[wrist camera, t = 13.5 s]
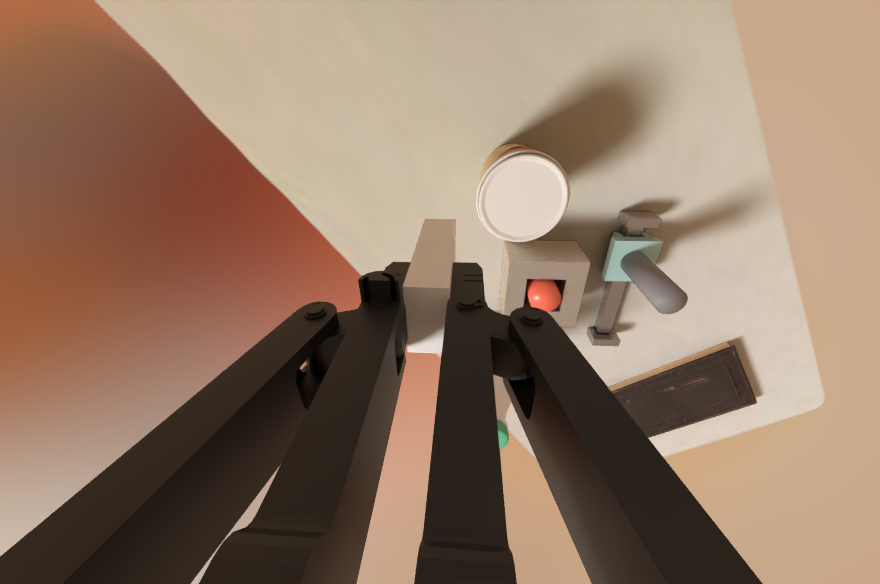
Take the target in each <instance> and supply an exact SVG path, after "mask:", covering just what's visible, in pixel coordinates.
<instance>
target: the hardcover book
mask: <svg viewBox="0 0 880 584" xmlns="http://www.w3.org/2000/svg"><path fill="white" fill-rule="evenodd" d="M608 388H609V389H610V391H611V392H612V393H613V394H614V396H615V397H616V398H617V399H618V401H619V402H620V403H621V405H622V406H623V407H624V408H625V410H626V411H627V412H628V413H629V415H630V416H631V417H632V419H633V420H634V421H635V422H636V424H637V425H638V426H639V427H640V429H641V430H642V431H643V432H644V434H645V435H646V436H647V438H649V437H653V436H656V435H659V434H662V433H665V432H668V431H671V430H675V429H678V428H681V427H684V426H687V425H690V424H693V423H697V422H700V421H703V420H706V419H709V418H712V417H715V416H719V415H722V414H725V413H728V412H731V411H734V410H738V409H741V408H744V407H747V406H750V405H753V404H756V403H757V401H756V398H755V396H754V393H753V391H752V388H751V386H750V383H749V381H748V378H747V376H746V373H745V371H744V368H743V366H742V363H741V361H740V358H739V356H738V353H737V351H736V348H735V346H734V345H732V346H730V345H729V344H728V343H727V342H724V343H721V344H719V345H716V346H714V347H711V348H708V349H706V350H703V351H701V352H698V353H695V354H693V355H690V356H688V357H685V358H682V359H680V360H677V361H675V362H672V363H669V364H667V365H664V366H662V367H659V368H657V369H654V370H651V371H649V372H646V373H644V374H641V375H638V376H636V377H633V378H631V379H628V380H625V381H623V382H620V383H618V384H615V385H612V386H610V387H608Z"/></svg>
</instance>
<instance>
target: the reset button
mask: <svg viewBox="0 0 880 584" xmlns="http://www.w3.org/2000/svg"><path fill="white" fill-rule="evenodd" d="M526 291H527V295H528V298H529V302H530V305H531V307H536V308H539V309H542V310H544V311H546V312H549V311H552V310H554V309H555V308H557V307H558V305H559V304H560V302H561V294H560V292H559V290H558V288H557V285H556V283H555V281H554V279H527V283H526Z"/></svg>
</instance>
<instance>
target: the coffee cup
mask: <svg viewBox="0 0 880 584" xmlns="http://www.w3.org/2000/svg"><path fill="white" fill-rule="evenodd" d="M569 197H570V186H569V181H568V178H567V175H566V173H565V171H564V169H563V168H562V166H561V165H560V164H559V163H558V162H557V161H556V160H555V159H554V158H552V157H551V156H549V155H547V154H545V153H543V152H539V151H536V150H534V149H531V148H529V147H527V146H524V145H521V144H507V145H503V146H501V147H499V148H497V149H496V150H494V151H493V152H492V153H491V154H490V155H489V156H488V157H487V159H486V160H485V162H484V164H483V167H482V171H481V175H480V181H479V186H478V190H477V195H476V207H477V212H478V215H479V217H480V219H481V221H482V223H483V225H484V226H485V227H486V228H487V229H488V230H489V231H490V232H491V233H492V234H494V235H495V236H497V237H499V238H501V239H503V240H507V241H511V242H525V241H530V240H534V239H537V238H539V237H541V236H543V235H545V234H546V233H547V232H549V231H550V230H551V229H553V228H554V227H555V226H556V225H557V223H558V222H559V221H560V220H561V218H562V216H563V215H564V213H565V211H566V208H567V206H568V202H569Z"/></svg>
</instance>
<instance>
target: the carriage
mask: <svg viewBox="0 0 880 584" xmlns="http://www.w3.org/2000/svg"><path fill="white" fill-rule="evenodd" d="M662 245H663V241H662V240H661V239H660V238H658V237H651V236H650V235H648V234H647V233H642V235H641V237H624V236H623V235H622V234H621V233H619V232H613V235H612V237H611V241H610V244H609V248H608V252H607V256H606V259H605V263H604V267H603V271H602V274H601V276H602V278H603V279H604V281H631V282H633V283H634V284H635V285H636V286H637V287H638V288H639V290H640V291H641V292H642V293H643V294H644V295H645V297H646V298H647V299H648V300H649V301H650V302H651V304H652V305H653V306H654V307H655V308H656V309H657V311H658V312H660V313H662V314H672V313H675V312H678V311H679V310H681V309H682V308H683V307H684V306H685V305H686V303H687V300H688V297H687V294H686V293H685V292H684V291H683V290H682V289H681V288H680V287H679V286H678V285H676V284H675V283H674V282H673V281H672V280H671V279H670V278H669V277H668V276H667V275H666V274H665V273H664V272H663V271H661V270H660V269H659V268H658V267H657V266H656V265H655V264H656V261H657V259H658V256H659V253H660V250H661V247H662Z"/></svg>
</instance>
